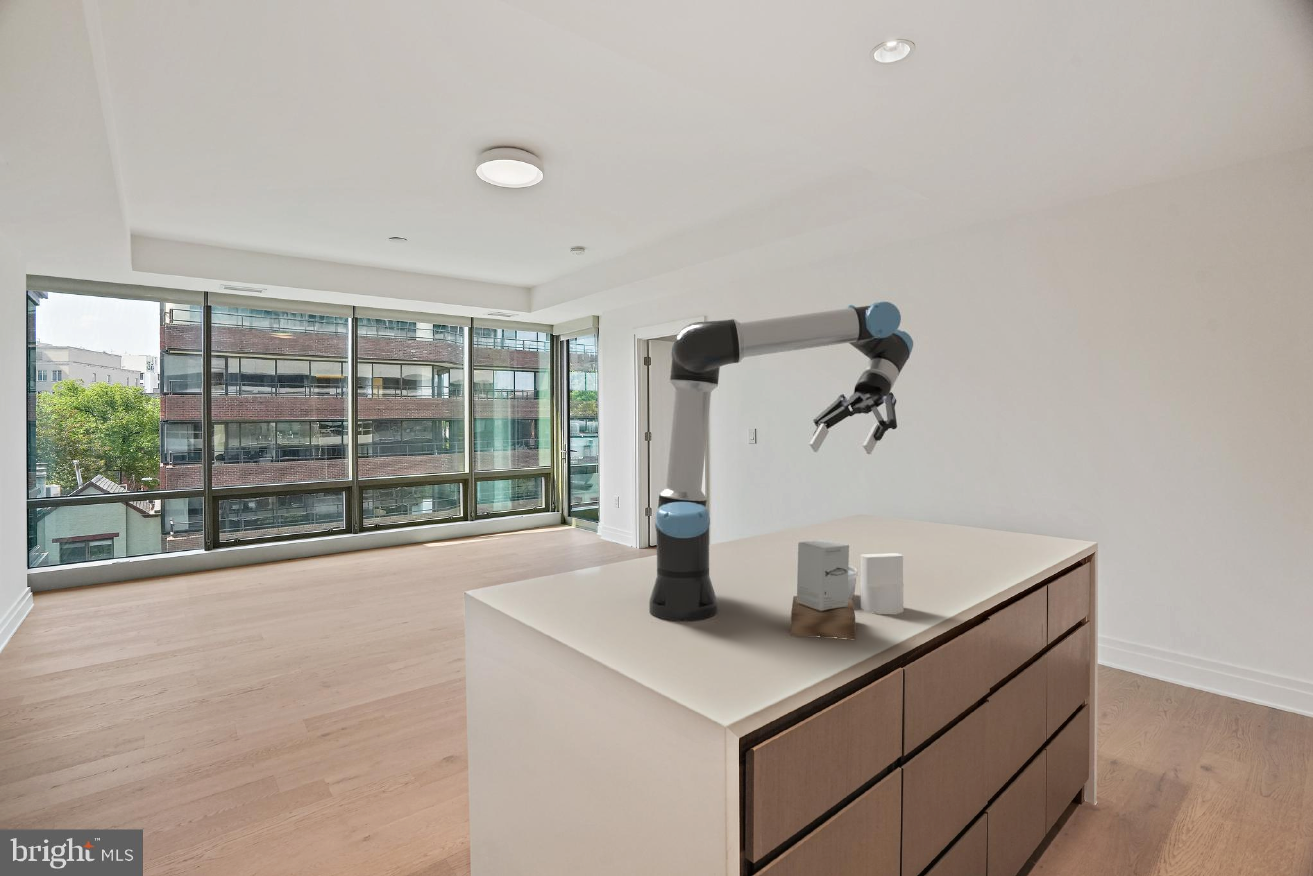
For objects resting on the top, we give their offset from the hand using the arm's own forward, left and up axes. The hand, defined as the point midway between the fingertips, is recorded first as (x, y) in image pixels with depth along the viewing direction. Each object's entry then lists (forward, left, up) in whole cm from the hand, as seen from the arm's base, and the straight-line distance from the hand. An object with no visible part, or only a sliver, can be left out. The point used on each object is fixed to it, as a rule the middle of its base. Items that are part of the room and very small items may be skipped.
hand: (838, 449), depth 142 cm
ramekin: (0, +11, -36) cm, 38 cm away
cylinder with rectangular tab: (+10, +2, -36) cm, 37 cm away
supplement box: (-6, -12, -31) cm, 34 cm away
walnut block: (-6, -12, -36) cm, 39 cm away
